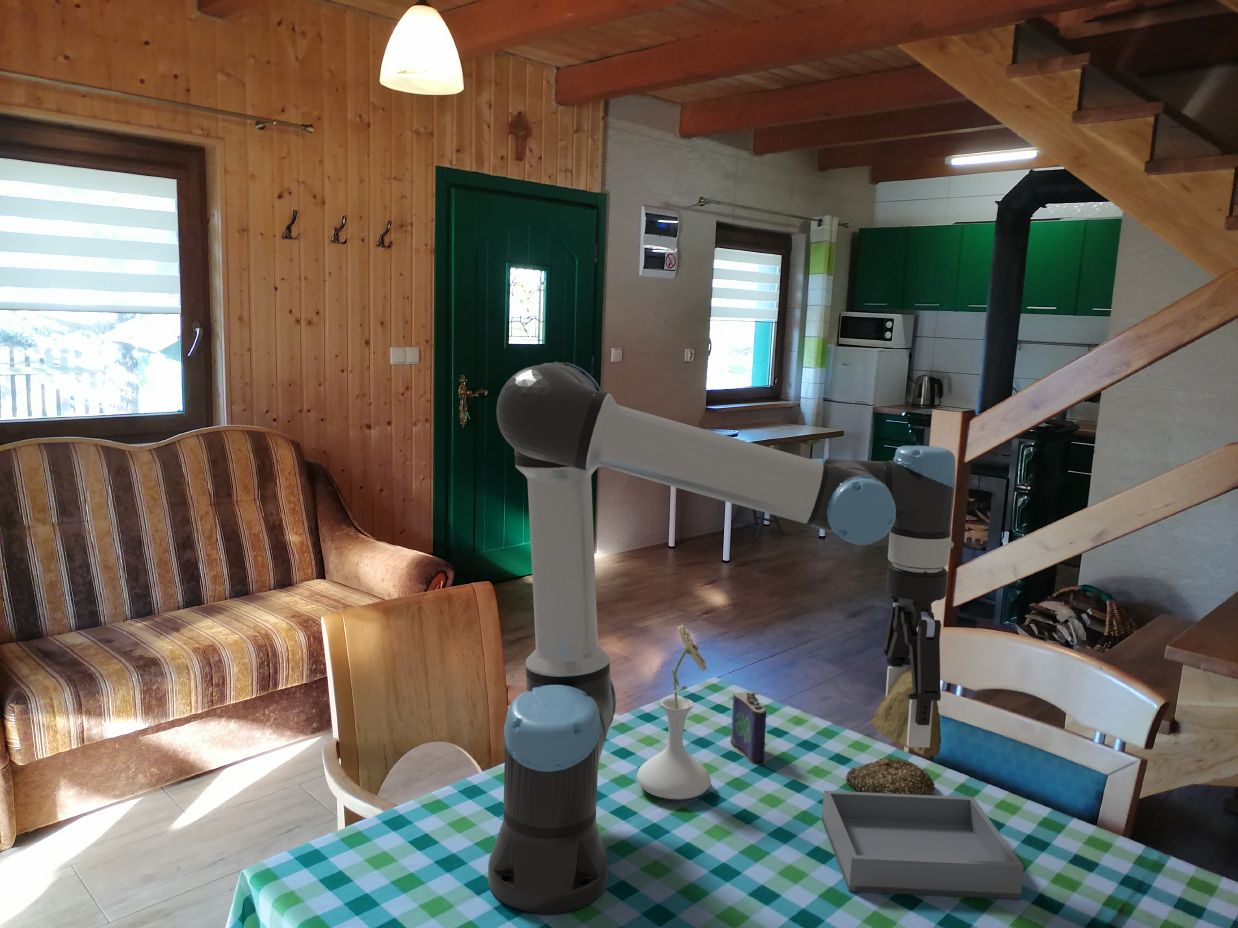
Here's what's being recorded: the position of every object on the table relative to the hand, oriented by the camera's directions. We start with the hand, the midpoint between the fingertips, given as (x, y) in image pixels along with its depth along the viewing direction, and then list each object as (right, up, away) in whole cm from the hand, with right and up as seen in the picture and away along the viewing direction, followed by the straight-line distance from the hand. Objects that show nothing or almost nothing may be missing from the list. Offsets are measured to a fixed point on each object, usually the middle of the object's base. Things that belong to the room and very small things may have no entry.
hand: (906, 728), depth 124 cm
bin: (+2, -18, +3) cm, 18 cm away
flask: (-17, -13, +33) cm, 39 cm away
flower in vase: (-30, -15, +20) cm, 39 cm away
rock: (0, -2, 0) cm, 2 cm away
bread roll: (+5, -16, +22) cm, 28 cm away
